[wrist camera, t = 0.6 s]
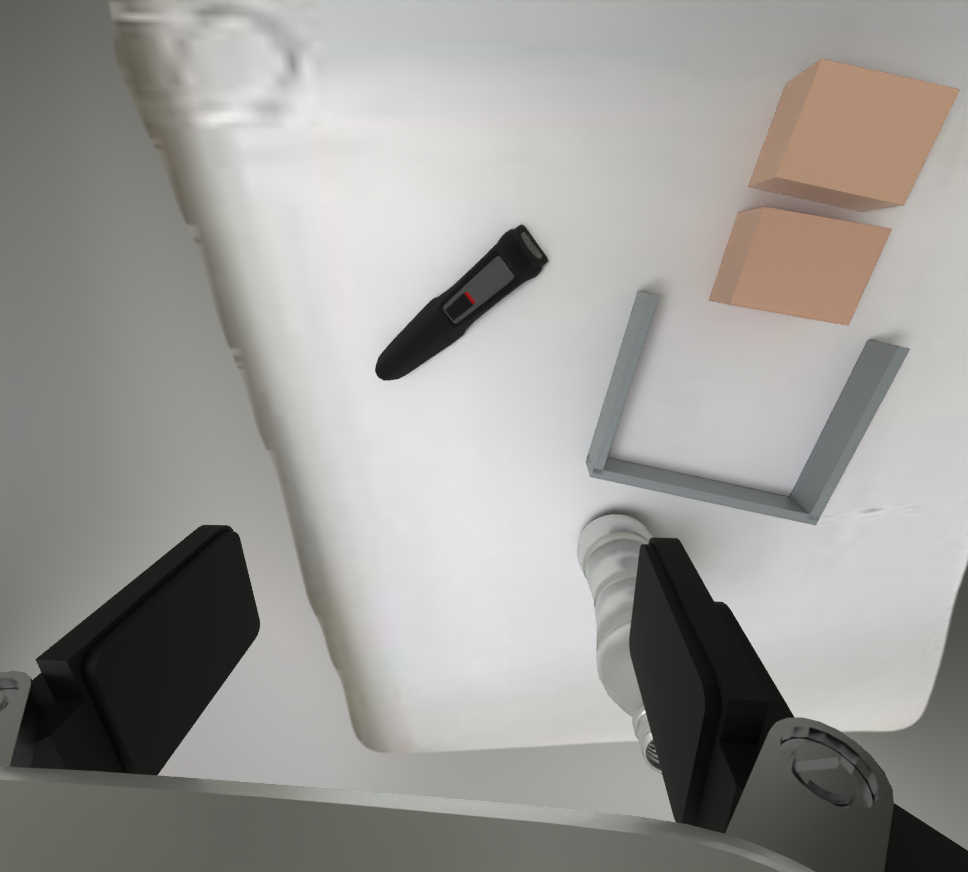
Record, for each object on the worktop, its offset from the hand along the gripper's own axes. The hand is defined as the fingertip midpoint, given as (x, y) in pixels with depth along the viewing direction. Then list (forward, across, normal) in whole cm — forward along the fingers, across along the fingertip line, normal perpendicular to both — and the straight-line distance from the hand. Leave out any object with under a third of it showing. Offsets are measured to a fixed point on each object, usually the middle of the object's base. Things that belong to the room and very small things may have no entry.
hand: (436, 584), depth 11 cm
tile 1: (+29, -20, -6) cm, 36 cm away
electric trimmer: (+29, +3, -4) cm, 29 cm away
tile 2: (+29, -22, -14) cm, 39 cm away
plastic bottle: (+28, -10, +17) cm, 34 cm away
